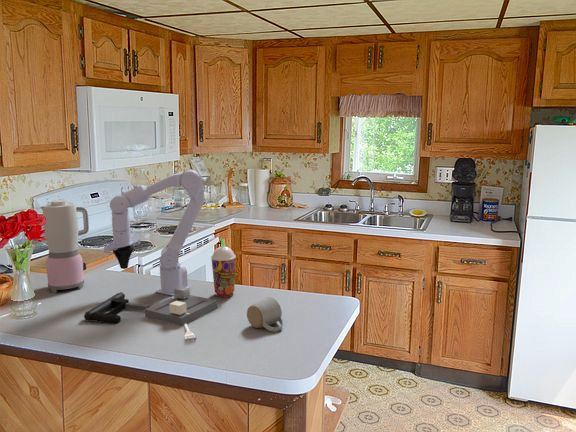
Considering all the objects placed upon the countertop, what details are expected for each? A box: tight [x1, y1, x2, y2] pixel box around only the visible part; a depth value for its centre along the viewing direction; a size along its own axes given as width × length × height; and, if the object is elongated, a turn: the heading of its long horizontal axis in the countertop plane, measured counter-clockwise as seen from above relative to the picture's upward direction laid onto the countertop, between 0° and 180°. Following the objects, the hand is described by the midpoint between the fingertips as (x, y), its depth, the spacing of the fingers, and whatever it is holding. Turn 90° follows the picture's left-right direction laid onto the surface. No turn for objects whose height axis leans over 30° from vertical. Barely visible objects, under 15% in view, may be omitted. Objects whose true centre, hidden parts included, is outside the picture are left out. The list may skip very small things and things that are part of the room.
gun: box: [83, 291, 151, 325], centre depth 165 cm, size 3×20×16 cm
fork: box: [183, 323, 197, 341], centre depth 151 cm, size 3×20×2 cm, turn 19°
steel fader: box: [173, 286, 191, 299], centre depth 170 cm, size 3×4×3 cm
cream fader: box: [169, 301, 187, 315], centre depth 156 cm, size 3×4×3 cm
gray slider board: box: [144, 294, 218, 327], centre depth 164 cm, size 17×15×3 cm
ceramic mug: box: [246, 296, 284, 333], centre depth 152 cm, size 11×8×8 cm
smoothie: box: [210, 238, 237, 298], centre depth 178 cm, size 8×8×20 cm
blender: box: [39, 199, 90, 293], centre depth 187 cm, size 16×12×32 cm
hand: (124, 268), depth 180 cm, fingers closed
